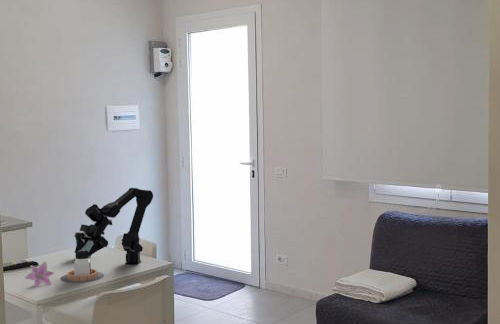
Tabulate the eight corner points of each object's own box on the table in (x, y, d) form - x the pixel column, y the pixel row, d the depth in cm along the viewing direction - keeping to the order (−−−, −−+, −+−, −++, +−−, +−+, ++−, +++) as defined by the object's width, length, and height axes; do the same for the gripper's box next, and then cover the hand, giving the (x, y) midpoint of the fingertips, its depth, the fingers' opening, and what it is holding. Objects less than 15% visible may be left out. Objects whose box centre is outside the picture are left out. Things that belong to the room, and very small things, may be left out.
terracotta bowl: (102, 273, 287) (102, 269, 287) (89, 281, 273) (89, 277, 273) (75, 272, 289) (75, 267, 289) (61, 280, 275) (61, 275, 275)
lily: (20, 290, 265) (24, 274, 261) (27, 273, 276) (32, 258, 272) (47, 296, 268) (52, 280, 264) (53, 280, 278) (58, 264, 274)
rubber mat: (110, 272, 289) (110, 272, 289) (93, 284, 270) (93, 283, 270) (72, 271, 293) (72, 270, 293) (52, 282, 273) (52, 281, 273)
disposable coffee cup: (70, 258, 318) (69, 231, 317) (86, 254, 328) (85, 227, 326) (84, 261, 313) (83, 233, 312) (99, 256, 322) (99, 229, 321)
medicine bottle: (90, 277, 279) (89, 252, 278) (74, 278, 277) (73, 253, 276) (90, 273, 286) (90, 248, 285) (75, 274, 284) (74, 249, 283)
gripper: (76, 215, 288) (58, 242, 280) (102, 219, 278) (84, 247, 270) (90, 229, 296) (72, 255, 288) (116, 233, 285) (98, 260, 277)
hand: (81, 254), depth 280 cm, fingers open, 9 cm apart
